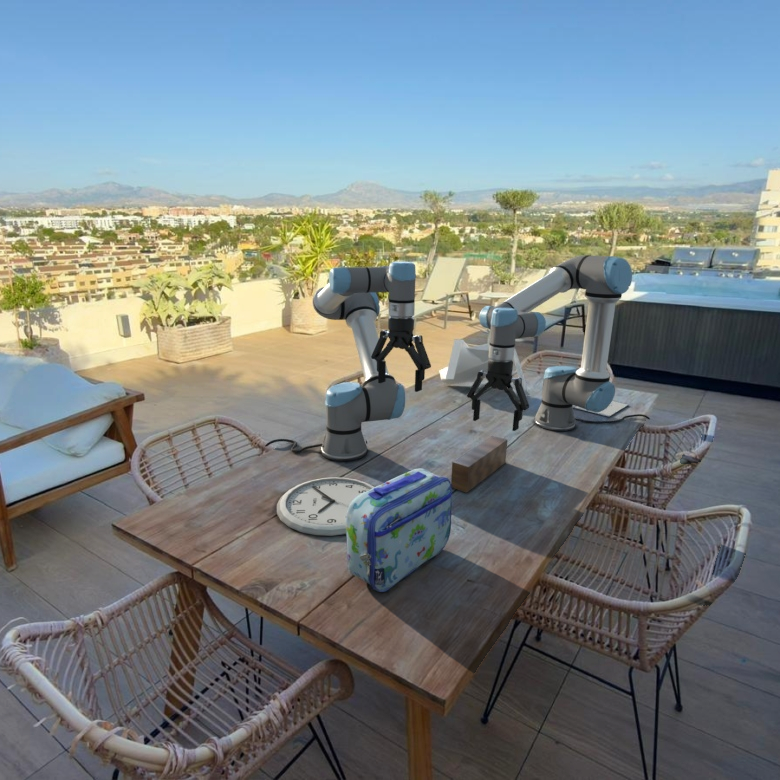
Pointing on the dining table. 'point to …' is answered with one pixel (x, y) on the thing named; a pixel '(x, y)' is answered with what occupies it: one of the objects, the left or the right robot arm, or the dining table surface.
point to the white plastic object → (472, 364)
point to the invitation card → (608, 409)
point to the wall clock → (320, 505)
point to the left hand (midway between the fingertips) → (399, 386)
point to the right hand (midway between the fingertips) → (495, 424)
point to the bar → (478, 463)
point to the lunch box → (398, 527)
